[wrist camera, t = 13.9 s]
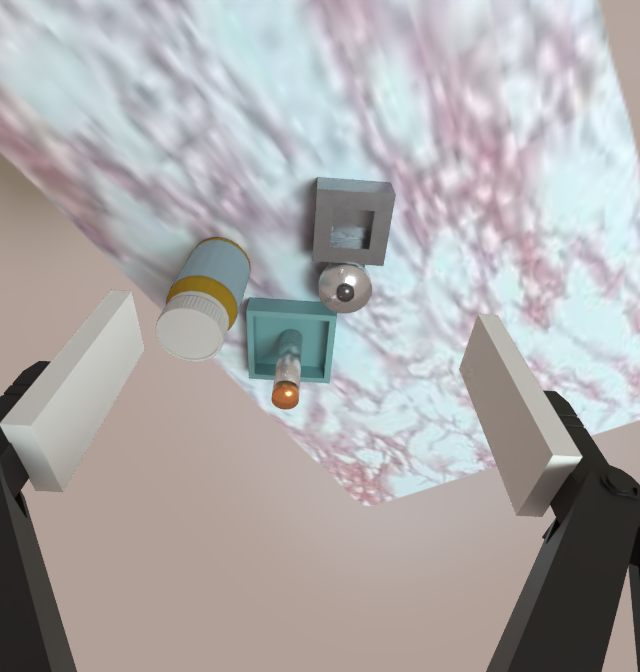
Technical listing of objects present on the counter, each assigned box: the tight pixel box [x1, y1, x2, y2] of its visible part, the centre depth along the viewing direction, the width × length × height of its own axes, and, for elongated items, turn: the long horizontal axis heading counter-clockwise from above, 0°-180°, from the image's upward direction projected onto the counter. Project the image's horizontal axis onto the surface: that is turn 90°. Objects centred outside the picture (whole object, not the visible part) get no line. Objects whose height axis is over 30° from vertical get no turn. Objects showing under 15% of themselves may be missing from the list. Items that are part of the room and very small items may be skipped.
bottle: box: [156, 238, 250, 362], centre depth 45 cm, size 7×7×15 cm
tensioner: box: [312, 177, 396, 313], centre depth 47 cm, size 14×8×5 cm, turn 176°
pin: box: [272, 329, 303, 409], centre depth 52 cm, size 3×3×12 cm
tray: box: [246, 298, 337, 383], centre depth 56 cm, size 11×11×3 cm
